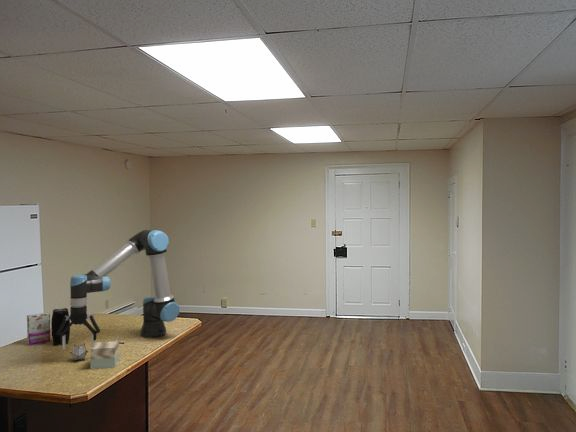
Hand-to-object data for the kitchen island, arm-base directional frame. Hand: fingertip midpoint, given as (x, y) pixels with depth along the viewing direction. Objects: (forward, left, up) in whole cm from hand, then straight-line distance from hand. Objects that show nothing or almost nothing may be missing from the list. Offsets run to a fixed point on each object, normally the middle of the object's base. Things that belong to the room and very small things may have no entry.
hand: (78, 347), depth 227 cm
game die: (0, 0, -7) cm, 7 cm away
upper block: (-14, +10, -2) cm, 17 cm away
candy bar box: (+30, -37, -7) cm, 48 cm away
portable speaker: (+17, -32, -7) cm, 37 cm away
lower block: (-14, +10, -7) cm, 18 cm away
